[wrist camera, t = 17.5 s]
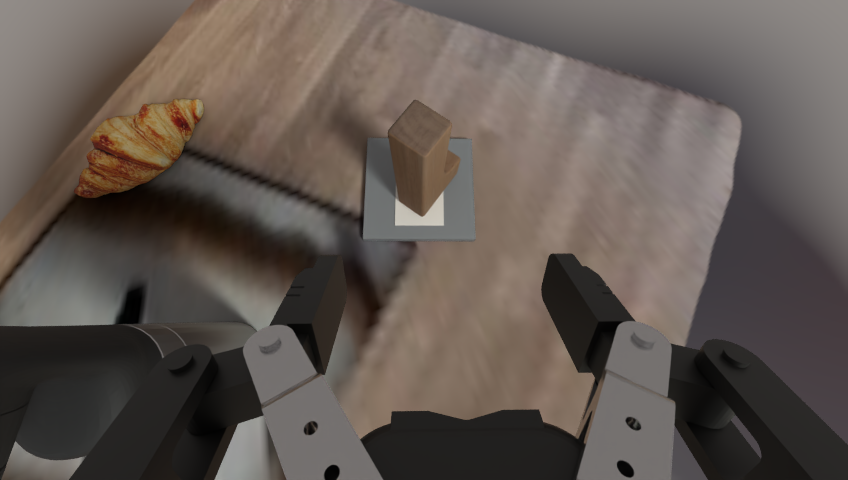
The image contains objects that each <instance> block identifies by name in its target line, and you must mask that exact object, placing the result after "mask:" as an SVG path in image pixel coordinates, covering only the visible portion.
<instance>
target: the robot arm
mask: <svg viewBox="0 0 848 480" xmlns="http://www.w3.org/2000/svg"><path fill="white" fill-rule="evenodd" d="M290 287H291V288H290V289H289V290H288V292H287V294H286V297H285V298H284V299H283V301H282V303H281V305H280V307H279V309H278V311H277V312H276V314H275V316H274V318H273V320H272V322H271V324H270V326H268V327H266V328H263V329H261V330H259V331H256V330H254V329H253V328H252V327H251V326H249V325H247V324H245V323H240V322H199V323H153V324H119V325H118V324H117V325H84V326H31V327H28V326H0V480H1V478H2V475H3V473H4V471H5V468H6V464H7V462H8V459H9V456H10V454H11V451H12V448H13V445H14V443H15V441H16V442H17V443H18V444H19V445H20V446H21V447H22V448H23V449H24V450H26V451H27V452H29V453H30V454H33V455H35V456H37V457H40V458H44V459H49V460H68V459H74V458H79V457H83V456H86V455H87V457H86V458H85V459H84V461H83V462H82V463H81V465H80V466H79V467H78V468H77V470H76V471H75V472H74V474H73V475H72V476H71V478H70V479H69V480H214V479H215V477H216V475H217V472H218V470H219V467H220V465H221V463H222V460H223V458H224V456H225V453H226V451H227V448H228V446H229V444H230V441H231V439H232V437H233V434H234V432H235V429H236V427H237V425H238V423H241V422H244V421H247V420H250V419H254V418H257V417H260V416H263V415H264V417H265V420H266V423H267V426H268V429H269V431H270V434H271V437H272V440H273V443H274V445H275V448H276V451H277V454H278V457H279V460H280V462H281V465H282V468H283V471H284V474H285V476H286V479H287V480H671V468H672V453H673V438H674V425H675V427H676V428H677V430H678V432H679V433H680V435H681V437H682V438H683V440H684V441H685V443H686V445H687V446H688V448H689V449H690V451H691V453H692V454H693V456H694V458H695V459H696V461H697V462H698V464H699V466H700V467H701V469H702V471H703V472H704V474H705V475H706V477H707V479H708V480H848V445H847V444H846V443H845V442H844V441H843V440H842V439H841V438H840V437H839V436H838V435H837V434H836V433H835V432H834V431H833V430H832V429H831V428H830V427H829V426H828V425H827V424H826V423H825V422H824V421H823V420H822V419H821V418H820V417H819V416H818V415H817V414H816V413H815V412H814V411H813V410H811V408H809V407H808V406H807V405H806V404H805V403H804V402H803V401H802V400H801V399H800V398H799V397H798V396H797V395H796V394H795V393H794V392H793V391H792V390H791V389H790V388H789V387H788V386H787V385H786V384H785V383H784V382H783V381H782V380H781V379H780V378H779V377H778V376H777V375H776V374H775V373H774V372H773V371H772V370H771V369H770V368H769V367H768V366H767V365H766V364H765V363H764V362H763V361H762V360H760V359H759V358H758V357H757V356H756V355H754V354H753V353H751V352H750V351H748V350H747V349H745V348H743V347H741V346H739V345H737V344H734V343H731V342H728V341H724V340H718V339H712V340H708V341H706V342H705V343H704V345H703V346H702V347H701V349H700V350H696V349H692V348H687V347H683V346H679V345H674V344H670V342H669V340H668V339H667V338H666V337H665V336H664V335H663V334H662V333H661V332H659V331H658V330H656V329H655V328H653V327H651V326H649V325H646V324H644V323H640V322H636V321H635V320H634V319H633V318H632V316H631V315H630V314H629V312H628V311H627V310H626V309H625V307H624V306H623V305H622V304H621V302H620V301H619V300H618V299H617V297H616V296H615V295H614V294H612V291H611V290H610V288H609V287H608V286H606V283H605V282H604V281H603V280H602V278H601V277H600V276H599V275H598V274H597V273H595V272H594V271H593V270H591V269H590V268H588V267H587V266H582V265H581V264H580V263H579V261H578V260H577V259H576V257H575V256H574V255H573V254H551V255H550V256H549V258H548V262H547V266H546V270H545V274H544V278H543V282H542V289H541V291H542V298H543V301H544V303H545V305H546V307H547V309H548V312H549V314H550V316H551V318H552V320H553V322H554V324H555V326H556V328H557V330H558V332H559V334H560V336H561V338H562V340H563V342H564V344H565V346H566V348H567V350H568V352H569V354H570V356H571V358H572V360H573V363H574V365H575V367H576V369H577V371H578V373H591V372H592V373H593V375H594V377H595V379H594V382H593V384H592V387H591V390H590V393H589V396H588V400H587V403H586V406H585V409H584V412H583V415H582V419H581V422H580V425H579V428H578V431H577V433H576V436H573V435H571V434H570V433H568V432H566V431H565V430H562V429H560V428H558V427H556V426H554V425H551V424H548V423H544V422H543V420H542V417H541V414H540V411H539V410H501V411H498V412H494V413H491V414H488V415H484V416H481V417H477V418H474V419H470V420H462V419H458V418H454V417H450V416H446V415H442V414H438V413H434V412H430V411H394V412H392V416H391V424H387V425H384V426H382V427H380V428H377V429H375V430H373V431H372V432H370V433H368V434H367V435H365V436H364V437H363V438H361V439H359V437H358V435H357V434H356V432H355V430H354V428H353V427H352V425H351V423H350V422H349V420H348V418H347V416H346V415H345V413H344V411H343V409H342V408H341V406H340V404H339V403H338V401H337V399H336V397H335V396H334V394H333V392H332V390H331V389H330V387H329V385H328V384H327V382H326V380H325V378H324V377H323V375H325V373H326V369H327V366H328V362H329V359H330V355H331V352H332V348H333V345H334V341H335V338H336V334H337V331H338V327H339V324H340V321H341V317H342V314H343V310H344V307H345V303H346V297H347V287H346V280H345V274H344V268H343V262H342V257H341V255H320V256H319V257H318V260H317V262H316V264H315V266H314V268H305V269H304V270H303V271H302V272H301V273H300V274H298V275H297V276H296V277H295V279H294V281H293V283H292V285H291V286H290ZM735 415H736V416H737V417H738V418H739V419H740V421H741V422H742V423H743V425H744V426H745V427H746V428H747V429H748V431H749V432H750V433H751V435H752V436H753V437H754V438H755V440H756V441H757V443H758V444H759V447H760V450H761V454H762V458H761V459H760V457H759V456H758V455H757V453H756V452H755V451H754V450H753V448H752V447H751V446H750V444H749V443H748V442H747V441H746V439H745V438H744V437H743V435H742V434H741V433H740V432H739V430H738V429H737V428H736V426H735V425H734V424H733V423H732V421H731V419H732V418H733V417H734V416H735Z"/></svg>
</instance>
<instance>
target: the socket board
mask: <svg viewBox="0 0 848 480" xmlns="http://www.w3.org/2000/svg"><path fill="white" fill-rule="evenodd" d="M448 150H449V151H451V152H452V153H454V154H455V155H457V156H458V157H460V159H461V160H460V164H459V168H458V171H457V174H456V175H455V177H454V178H453V179H452V180H451V182H450V183H449V184H448V186H447V187H446V188H445V190H444V191H443V192H442V194H441V195H440V196H439V198H438V199H437V200H436V201H435V203H434V204H433V205H432V207H431V208H430V209H429V211H428V212H427V213H426V215H425V216H423V217H421V216H419V215H418V214H417V213H415V212H414V211H412V210H411V209H409V208H408V207H406V206H405V205H404V204H402V203H401V202H400V201H399V198H398V192H397V186H396V180H395V174H394V168H393V162H392V156H391V150H390V144H389V138H368V142H367V163H366V184H365V205H364V226H363V240H364V241H475V214H474V189H473V163H472V139H450V140H449V145H448Z"/></svg>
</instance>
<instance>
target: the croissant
mask: <svg viewBox="0 0 848 480" xmlns="http://www.w3.org/2000/svg"><path fill="white" fill-rule="evenodd" d="M203 112H204V106H203V104H202V101H200V100H198V99H195V100H190V99H186V100H185V99H180V100H178V99H174V100H173V101H172V102H171V103H169V104H165V103H163V104H151V105H147V104H144V105H143V106H142V108H141V110H140V112H139V113H138V114H136V115H132V116H126V117H124V116H118V117H114V118H111V119H109V118H108V119H107V120H105V121H104V122H103V123H102V124H100V126H98V128H97V129H96V130H95V132H94V134H93V135H92V136H91V138H90V140H91V141H92V142H93V145H94V147H95V148H94V150H92V151H90V152H89V153H88V154H87V159H88V162H89V168H85V169H83V171H82V173H81V175H80V179H79V185H78V186H77V187H76V188H75V190H74V193H76V194H77V195H79V196H81V197H85V198H96V197H99V196H102V195H104V194H105V195H106V194H108V193H115V192H124V191H127V190H129V189H132V188H134V187H135V186H137V185H140V184H143V183H147V182H149V181H150V180H152V179H154V178H155V177H156V176H158V175H159V174H160V173H162V172H163V171H165V170H166V169H168V168H169V167H171V165H172V164H173V163H174V162H175V161H177V159H178V158H179V157H180V155H181V153H182V150H183V148H184V146H185V144H184V143H185V142H188V141H189V139H190V137H191V136H192V132H193V129H194V128H195V125H194V124H196V123H197V122H199V121H200V119H201V117H202V115H203Z"/></svg>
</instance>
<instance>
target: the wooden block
mask: <svg viewBox="0 0 848 480" xmlns="http://www.w3.org/2000/svg"><path fill="white" fill-rule="evenodd" d="M451 128H452V123H451V122H450V121H449V120H447V119H446V118H444V117H443V116H441V115H440V114H438V113H437V112H435V111H433V110H432V109H430V108H429V107H427V106H426V105H424V104H423V103H421V102H419V101H418V100H414V101H413V102H412V103H411V104H410V105H409V106H408V108H407V109H406V110H405V111H404V112H403V113H402V115H401V116H400V117H399V118H398V119H397V121H396V122H395V123H394V124H393V125H392V126H391V128H390V129H389V130H388V138H389V144H390V150H391V156H392V162H393V168H394V174H395V180H396V186H397V192H398V198H399V201H400V202H401V203H402V204H404V205H405V206H406V207H408V208H409V209H411V210H412V211H414V212H415V213H417V214H418V215H419V216H421V217H423V216H425V215H426V213H427V212H428V211H429V209H430V208H431V207H432V205H433V204H434V203H435V201H436V200H437V199H438V198H439V196H440V195H441V194H442V192H443V191H444V190H445V188H446V187H447V186H448V184H449V183H450V182H451V180H452V179H453V178H454V177H455V175H456V174H457V171H458V168H459V164H460V160H461V159H460V157H458V156H457V155H455V154H454V153H452V152H451V151H449V150H448V145H449V140H450V134H451Z"/></svg>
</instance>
